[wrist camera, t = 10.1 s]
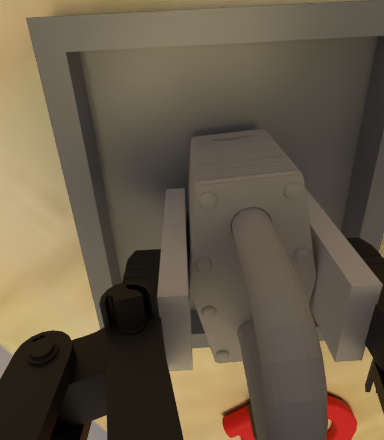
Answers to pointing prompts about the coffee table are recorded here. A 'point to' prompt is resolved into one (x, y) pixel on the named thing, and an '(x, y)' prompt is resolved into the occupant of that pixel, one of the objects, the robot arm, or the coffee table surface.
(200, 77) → the tray
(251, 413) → the tow hook
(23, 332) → the coffee table surface
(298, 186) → the padlock
